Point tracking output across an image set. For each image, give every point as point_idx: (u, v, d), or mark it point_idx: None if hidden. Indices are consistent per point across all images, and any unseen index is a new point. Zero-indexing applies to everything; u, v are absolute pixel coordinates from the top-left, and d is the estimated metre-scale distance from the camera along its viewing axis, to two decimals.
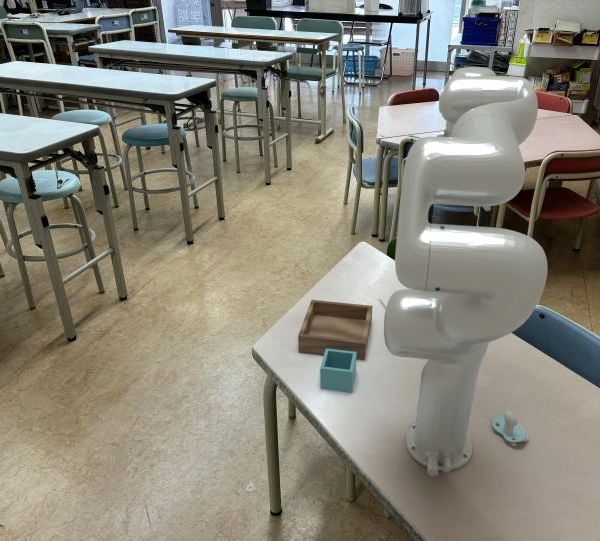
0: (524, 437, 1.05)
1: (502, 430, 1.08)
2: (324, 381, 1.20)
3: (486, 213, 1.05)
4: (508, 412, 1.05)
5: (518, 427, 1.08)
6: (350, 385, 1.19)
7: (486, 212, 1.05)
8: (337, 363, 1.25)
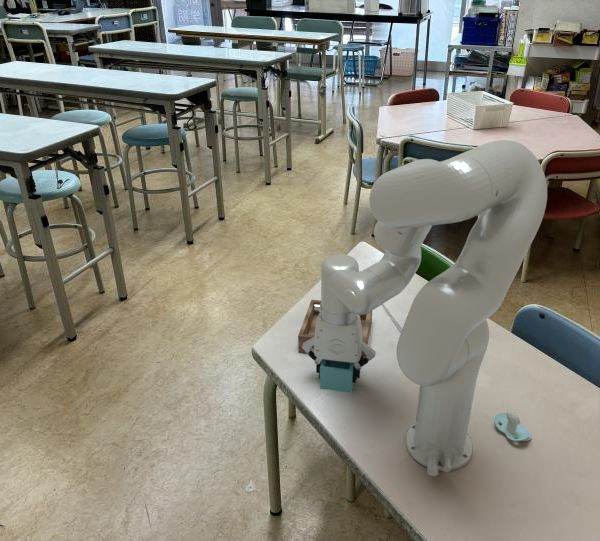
0: (527, 436, 1.05)
1: (505, 429, 1.08)
2: (323, 380, 1.20)
3: (358, 370, 1.20)
4: (511, 411, 1.05)
5: (521, 426, 1.09)
6: (350, 385, 1.19)
7: (358, 369, 1.20)
8: (337, 363, 1.25)
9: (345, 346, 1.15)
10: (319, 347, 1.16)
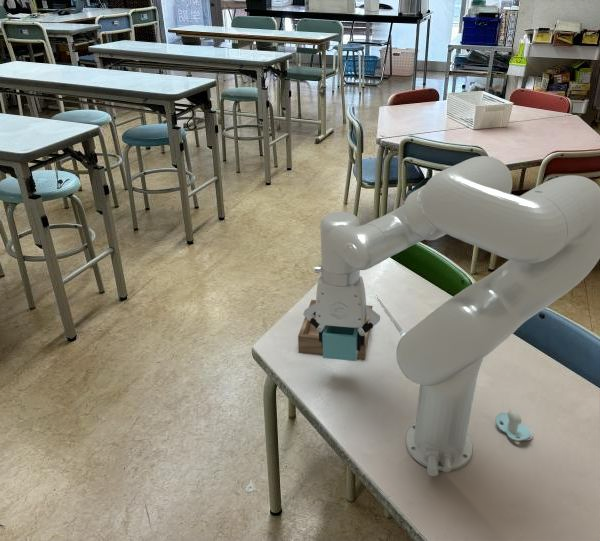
0: (528, 435, 1.06)
1: (506, 428, 1.09)
2: (327, 348, 1.14)
3: (362, 337, 1.14)
4: (513, 411, 1.06)
5: (522, 425, 1.09)
6: (354, 352, 1.13)
7: (362, 336, 1.14)
8: (340, 331, 1.19)
9: (348, 310, 1.10)
10: (321, 312, 1.11)
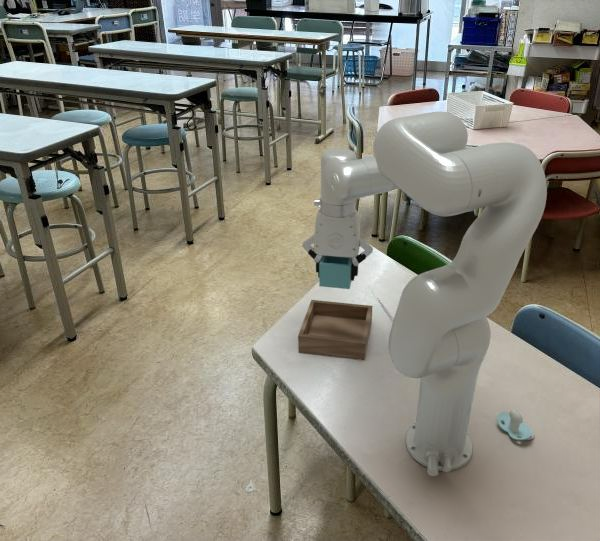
0: (529, 435, 1.06)
1: (508, 428, 1.09)
2: (323, 277, 1.25)
3: (356, 267, 1.25)
4: (514, 410, 1.06)
5: (523, 425, 1.09)
6: (348, 280, 1.24)
7: (356, 266, 1.25)
8: (335, 264, 1.29)
9: (344, 240, 1.20)
10: (319, 242, 1.21)
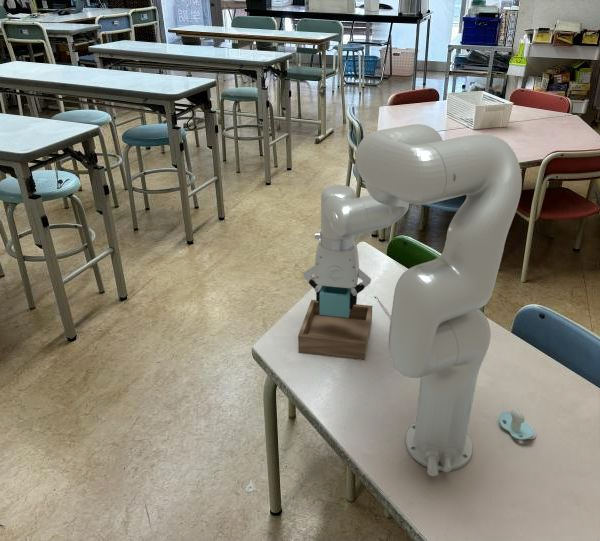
0: (531, 434, 1.06)
1: (509, 427, 1.09)
2: (323, 306, 1.30)
3: (355, 297, 1.30)
4: (516, 410, 1.06)
5: (525, 424, 1.09)
6: (347, 309, 1.29)
7: (354, 296, 1.30)
8: (335, 292, 1.34)
9: (343, 272, 1.25)
10: (319, 274, 1.26)
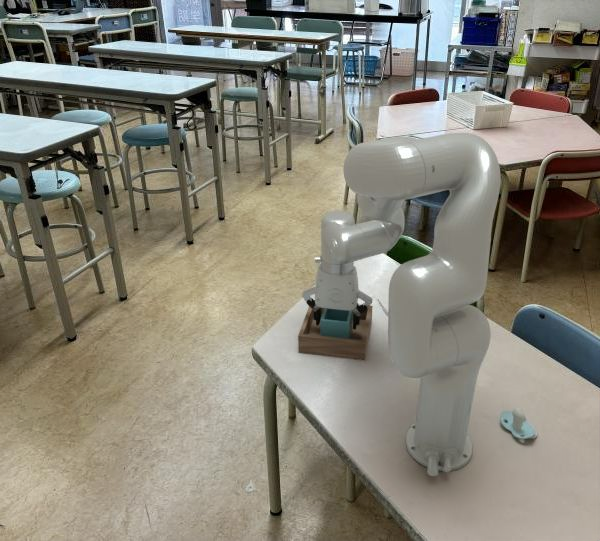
0: (533, 433, 1.06)
1: (511, 426, 1.09)
2: (324, 332, 1.33)
3: (358, 317, 1.32)
4: (517, 409, 1.06)
5: (526, 424, 1.09)
6: (347, 336, 1.32)
7: (357, 316, 1.32)
8: (335, 318, 1.38)
9: (343, 295, 1.27)
10: (319, 296, 1.29)
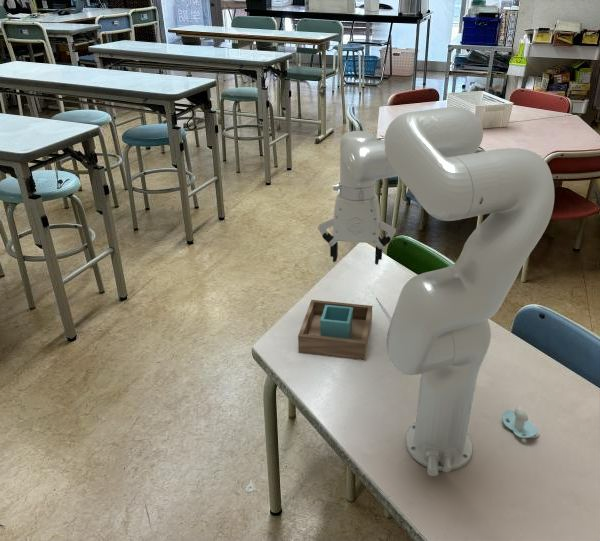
0: (534, 433, 1.06)
1: (512, 426, 1.09)
2: (324, 332, 1.33)
3: (380, 251, 1.23)
4: (519, 408, 1.06)
5: (528, 423, 1.09)
6: (347, 336, 1.32)
7: (380, 250, 1.23)
8: (335, 318, 1.38)
9: (364, 224, 1.18)
10: (338, 228, 1.20)
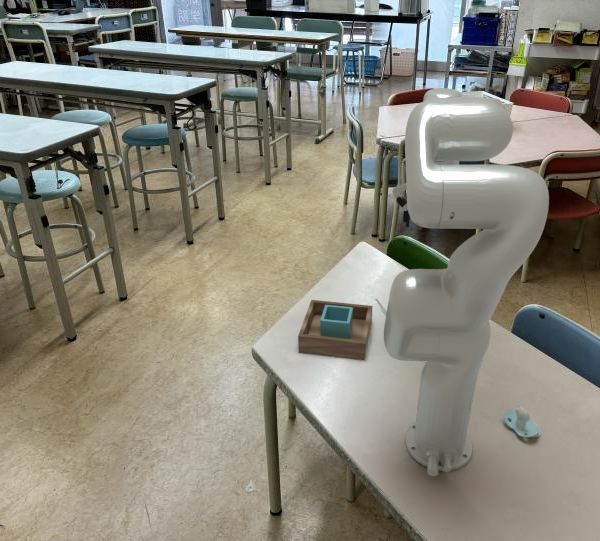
0: (536, 432, 1.06)
1: (514, 425, 1.09)
2: (324, 332, 1.33)
3: None
4: (521, 408, 1.06)
5: (530, 422, 1.09)
6: (347, 336, 1.32)
7: None
8: (335, 318, 1.38)
9: None
10: None
